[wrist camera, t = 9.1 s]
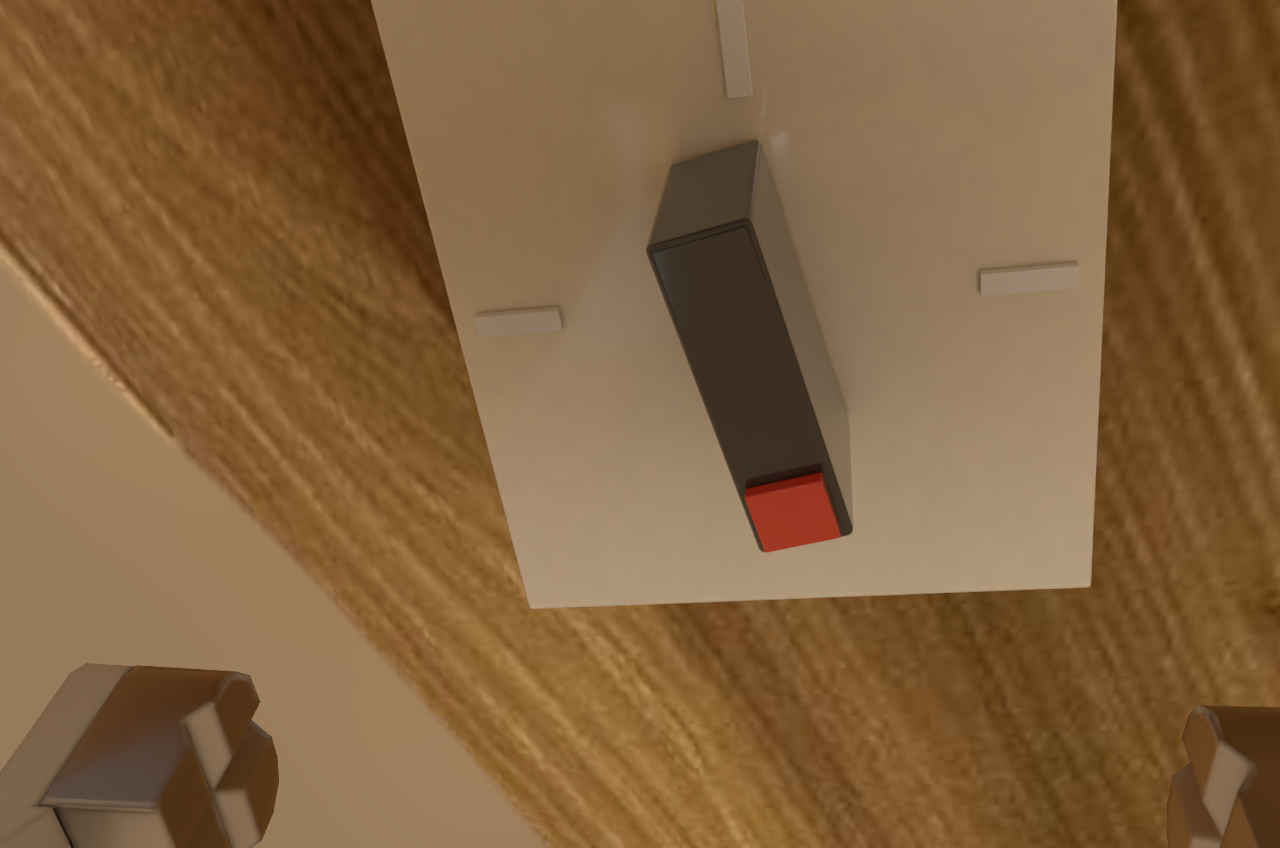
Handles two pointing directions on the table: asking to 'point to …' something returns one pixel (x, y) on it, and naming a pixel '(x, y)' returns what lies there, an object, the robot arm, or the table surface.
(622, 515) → the panel
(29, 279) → the table surface
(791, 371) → the red-tipped dark block
